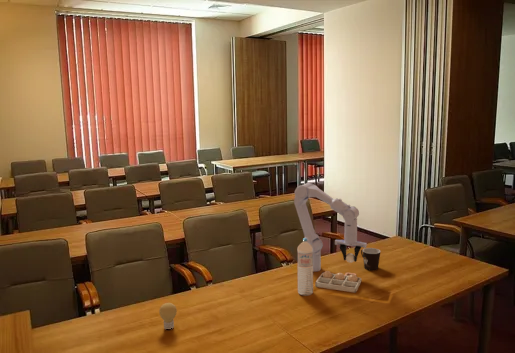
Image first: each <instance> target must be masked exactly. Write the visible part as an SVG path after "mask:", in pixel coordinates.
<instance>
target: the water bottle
mask: <svg viewBox="0 0 515 353" xmlns="http://www.w3.org/2000/svg"><path fill="white" fill-rule="evenodd" d="M296 249H297V250H296V251H297V266H296V267H297V293H298V295H300V296H303V297H305V296H306V297H307V296H311V295H312V294H313V293H314V271H313V247H312V246H311V244H309V243H308V242H307V238H305V237H304V238H302V242H300V243H299V245H298V246H297V248H296Z"/></svg>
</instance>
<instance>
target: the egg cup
mask: <svg viewBox="0 0 515 353" xmlns="http://www.w3.org/2000/svg"><path fill="white" fill-rule="evenodd" d="M352 274H353V275H356V276H357V273H354V272H353V273H352V272H345V274H344V275H345V276H350V275H352Z"/></svg>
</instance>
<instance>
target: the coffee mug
mask: <svg viewBox="0 0 515 353" xmlns="http://www.w3.org/2000/svg"><path fill="white" fill-rule="evenodd" d="M381 252H382V251H381V250H380V249H379V248H374V247H366V248H363V249H362V248H361V249H360V254H361V257H362V258H363V268H364V269H365V270H366V271H377V270H378V269H379V263H380V258H381V257H380V256H381Z"/></svg>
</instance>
